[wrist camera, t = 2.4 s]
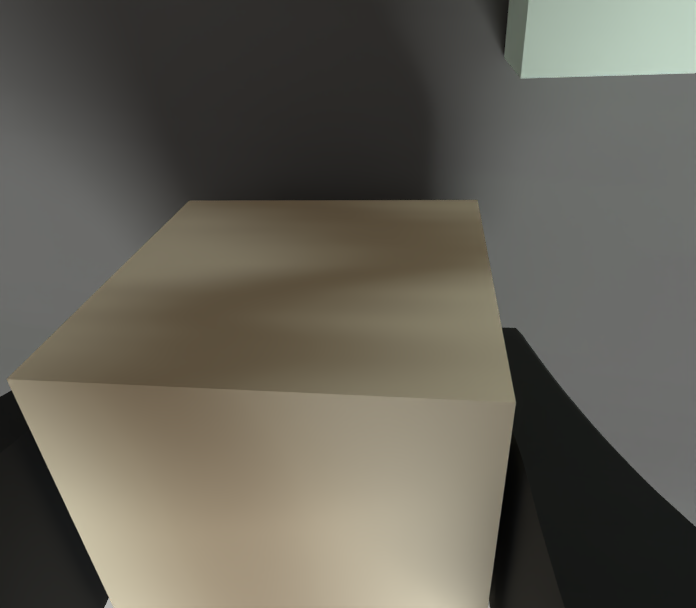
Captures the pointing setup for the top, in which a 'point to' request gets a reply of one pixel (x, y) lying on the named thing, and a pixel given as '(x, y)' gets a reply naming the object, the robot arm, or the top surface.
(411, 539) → the maple cube
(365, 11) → the top surface
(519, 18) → the pale green slab
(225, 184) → the top surface
